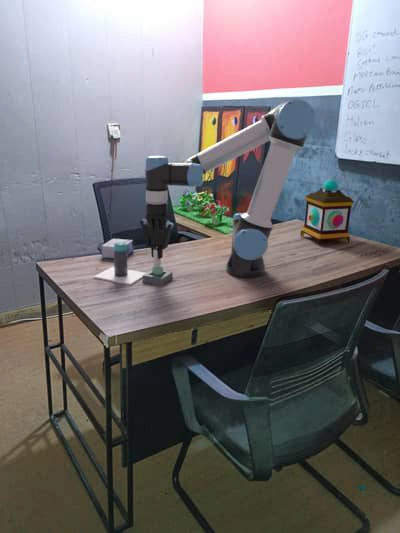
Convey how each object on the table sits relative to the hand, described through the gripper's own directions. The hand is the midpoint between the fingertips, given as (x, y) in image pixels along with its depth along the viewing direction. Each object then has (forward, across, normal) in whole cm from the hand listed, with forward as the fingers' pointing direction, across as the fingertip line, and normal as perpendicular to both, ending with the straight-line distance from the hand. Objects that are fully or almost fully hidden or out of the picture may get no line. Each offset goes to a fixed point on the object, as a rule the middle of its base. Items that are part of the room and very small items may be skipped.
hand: (157, 266), depth 158 cm
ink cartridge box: (+3, +28, -12) cm, 31 cm away
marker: (+5, +14, +3) cm, 15 cm away
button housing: (+5, 0, 0) cm, 5 cm away
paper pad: (+6, +14, +3) cm, 15 cm away
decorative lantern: (+5, -47, -85) cm, 97 cm away
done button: (+3, 0, 0) cm, 3 cm away
